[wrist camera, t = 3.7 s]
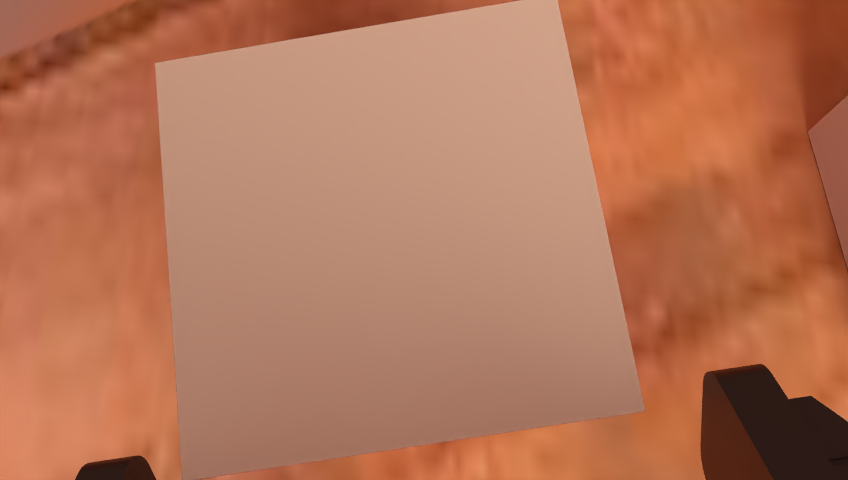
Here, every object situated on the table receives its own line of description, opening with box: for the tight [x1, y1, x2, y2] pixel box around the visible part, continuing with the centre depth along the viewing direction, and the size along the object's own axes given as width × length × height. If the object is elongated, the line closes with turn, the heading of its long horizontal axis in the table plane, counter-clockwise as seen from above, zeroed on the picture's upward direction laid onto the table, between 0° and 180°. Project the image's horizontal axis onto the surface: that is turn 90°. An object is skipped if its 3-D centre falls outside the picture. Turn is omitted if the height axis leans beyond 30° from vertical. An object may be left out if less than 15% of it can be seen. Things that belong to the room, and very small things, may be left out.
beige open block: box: [155, 0, 645, 480], centre depth 16 cm, size 6×6×9 cm
